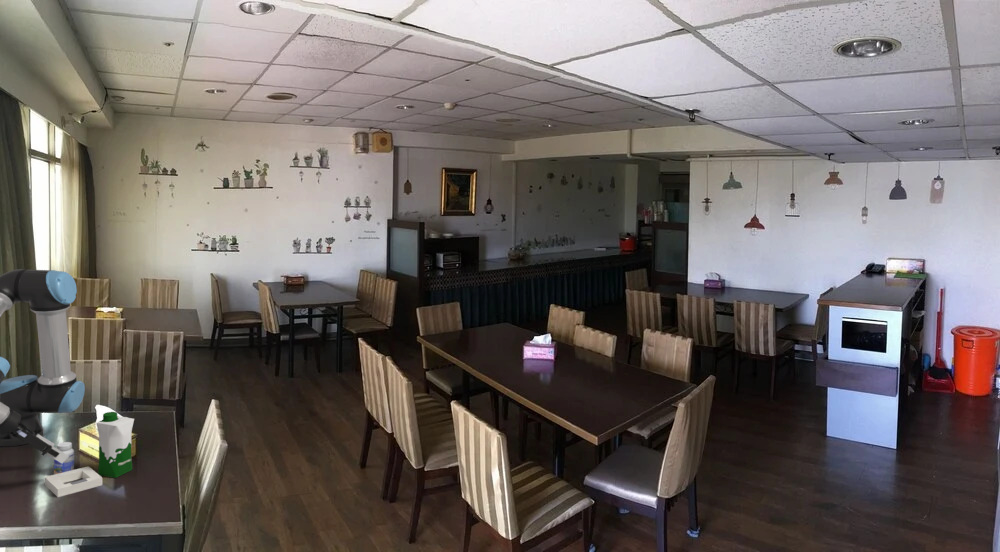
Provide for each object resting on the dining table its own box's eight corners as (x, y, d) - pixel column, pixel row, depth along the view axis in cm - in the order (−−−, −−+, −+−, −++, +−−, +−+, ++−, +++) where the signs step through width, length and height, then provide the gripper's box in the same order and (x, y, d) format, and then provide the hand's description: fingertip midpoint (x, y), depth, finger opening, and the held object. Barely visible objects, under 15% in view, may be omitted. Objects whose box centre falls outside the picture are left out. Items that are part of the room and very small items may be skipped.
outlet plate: (44, 484, 191) (44, 476, 191) (88, 473, 201) (88, 465, 201) (57, 497, 184) (57, 488, 184) (102, 485, 194) (102, 477, 193)
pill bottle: (50, 473, 199) (50, 445, 198) (67, 467, 204) (67, 439, 203) (60, 477, 197) (60, 448, 196) (77, 471, 202) (77, 443, 201)
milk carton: (114, 465, 208) (115, 408, 206) (137, 469, 206) (137, 412, 204) (92, 475, 200) (92, 416, 198) (116, 479, 198) (116, 420, 196)
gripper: (-22, 418, 190) (36, 452, 204) (0, 440, 175) (61, 475, 188) (-1, 399, 194) (55, 433, 207) (22, 418, 179) (81, 454, 192)
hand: (58, 453), depth 198 cm, fingers open, 13 cm apart
